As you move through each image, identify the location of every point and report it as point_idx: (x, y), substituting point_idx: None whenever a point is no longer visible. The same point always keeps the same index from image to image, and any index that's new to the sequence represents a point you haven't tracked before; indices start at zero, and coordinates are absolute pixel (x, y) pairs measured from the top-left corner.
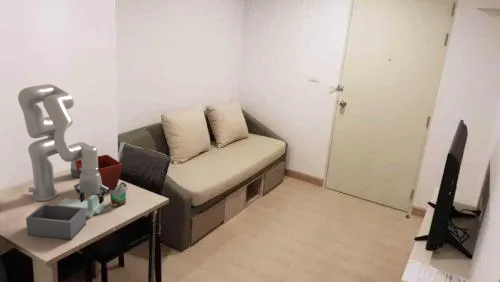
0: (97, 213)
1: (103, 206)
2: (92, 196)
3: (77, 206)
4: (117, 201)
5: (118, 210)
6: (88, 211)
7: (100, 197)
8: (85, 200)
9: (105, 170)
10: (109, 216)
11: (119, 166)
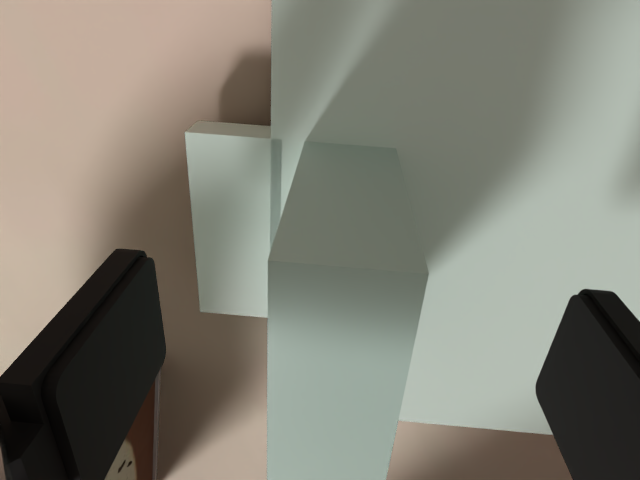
0: (221, 123)
1: (201, 305)
2: (351, 448)
3: (619, 270)
4: None
5: (20, 275)
6: (375, 119)
7: (18, 382)
8: (524, 429)
9: None
10: (23, 92)
11: None
